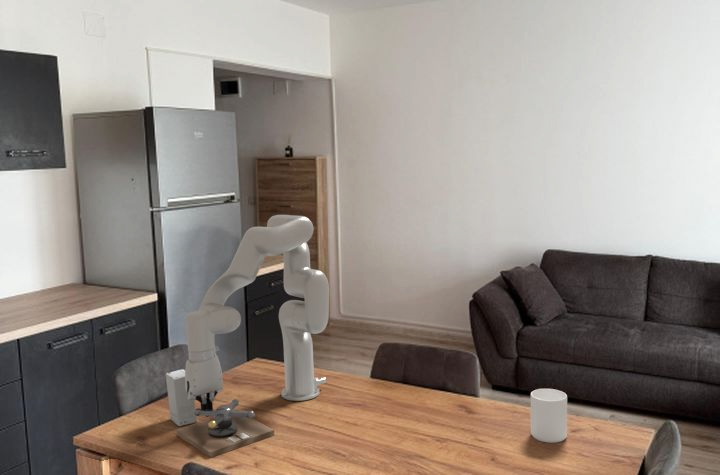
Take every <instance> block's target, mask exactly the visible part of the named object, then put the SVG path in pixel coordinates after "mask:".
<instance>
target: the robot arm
mask: <svg viewBox="0 0 720 475" xmlns="http://www.w3.org/2000/svg"><path fill="white" fill-rule="evenodd" d="M313 234H314V225H313V222H312V221H311V220H310V219H309V218H308V217H307V216H304V215H292V214H291V215H290V214H276V215H272V216H271V217H270V218H268V220H267V222H266V226H252V227H250V228H249V229H248V230H246V231H245V232H244V235H243V237H242V239H241V241H240V243H239V245H238V248H237V250H236V253H235V254H234V256H233V258H232V261H231V263H230V265H229V267H228V268H227V270H226V271H225V272H223V274H222V275H220V276H219V277H218V278H217V279H216V280H215V281H214V282H213V284H211V286H209V288H208V290H206V291H207V292H206V293H205V294H204V297H203V298H202V302H201V303H200V306H199V309H198V310H195V311H191V312H188V313H187V314H186V316H185V328H186V329H185V330H186V339H187V340H186V341H187V351H188V359H187V360H186V362H185V368H184V370H185V389H186V392H187V393H188V400H190V401H193V400H194V401H198V403H200V409H213V410H214V404H213V402H214V401H215V398H216V396H217V395H218V394H220V393H221V392H222V391H224V388H223V386H224V379H223V371H222V367H221V363H220V359H219V356H218V355H217V352H219V351H220V346H219V345H218V346H217V345H216V343H215V335H218V334H219V335H220V334H221V335H222V334H229V333H231V332H234V331H235V330H237V329H238V328H239V326H240V325H241V322H242V316H241V314H240V312H239V311H238V310H237V309H236V308H234V307H231V306H226V305H225V304H226V301H227V300H228V298H229V297H230V296H231V295H232V294H233V293H234V292H236V291H237V290H239V289H241V288H244V287H246V286H248V285H249V284H252V283H253V282H254V281H255V280H256V278H257V276H258V274H259V271H260V269H261V267H262V265H263V262H264V260H265V258H266V256H269V257H271V256H272V257H276V256H280V255H283V289H284V291H285V292H286V294H288V295H289V296H293V297H297V298H301V299H304V301H303V300H298V299H290V300H287V301H285V302H283V304H282V305H281V306H280V308H279V311H278V321H279V325H280V329H281V334H282V343H283V360H284V361H283V363H284V379H285V380H284V382H285V388H283V389H282V390H281V395H280V396H281V398H282V399H284V400H287V401H291V402H292V401H295V402H300V401H302V402H303V401H308V400H311V399H314V398H316V397H318V396H319V394H320V388H319V386H320V385H322V384H325V383H327V379H326V377H320V378H319V377H317V376H316V377H315V371H314V370H315V368H314V348H313V338H312V335H311V334H314V335H317V334H320V333H322V332H324V330H325V329H326V328H327V325H328V322H329V317H330V316H329V314H330V307H329V306H330V285H329V280H328V278H327V276H326V274H325V273H324V272H323V271H321V270H319V269H313V268H311V253H310V247H309V245H308V242H309V241H310V239H311V238H312V237H313ZM209 417H210V416H205V418H209Z"/></svg>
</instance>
